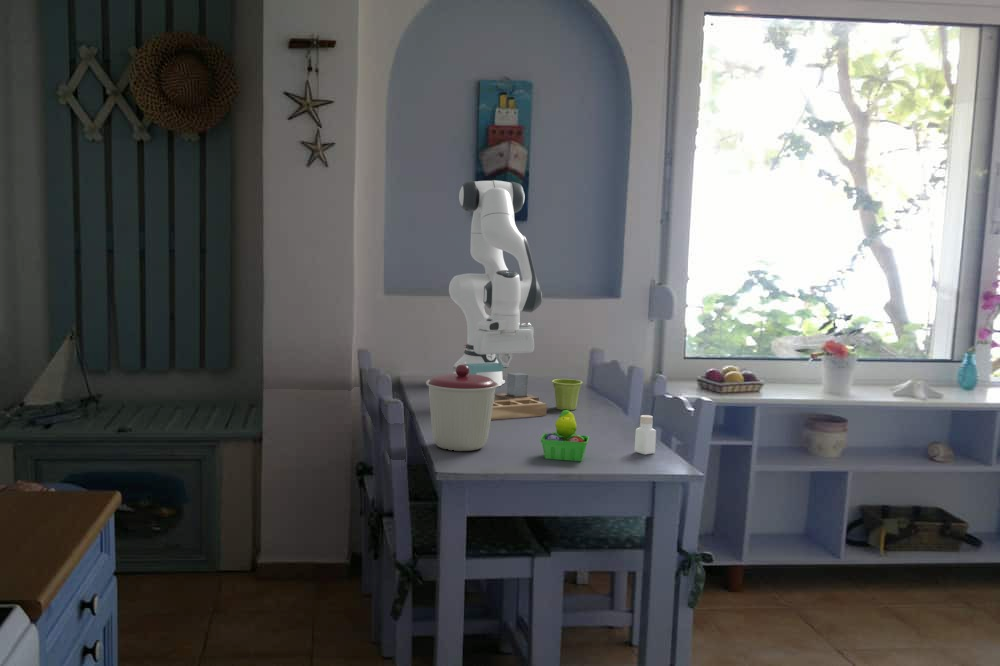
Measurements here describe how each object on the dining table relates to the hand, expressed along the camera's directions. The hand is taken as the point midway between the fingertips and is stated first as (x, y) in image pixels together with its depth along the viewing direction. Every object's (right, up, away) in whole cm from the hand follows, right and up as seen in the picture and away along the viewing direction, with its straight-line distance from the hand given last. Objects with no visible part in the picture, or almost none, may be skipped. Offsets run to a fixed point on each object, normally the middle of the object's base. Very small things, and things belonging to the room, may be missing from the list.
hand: (503, 367), depth 304 cm
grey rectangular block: (+4, -12, +4) cm, 13 cm away
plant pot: (+19, -13, +2) cm, 24 cm away
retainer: (-7, -11, -3) cm, 14 cm away
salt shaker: (+36, -20, -54) cm, 68 cm away
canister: (-11, -18, -56) cm, 60 cm away
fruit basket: (+15, -20, -62) cm, 67 cm away
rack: (+1, -14, -12) cm, 18 cm away
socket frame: (-3, -12, 0) cm, 13 cm away
